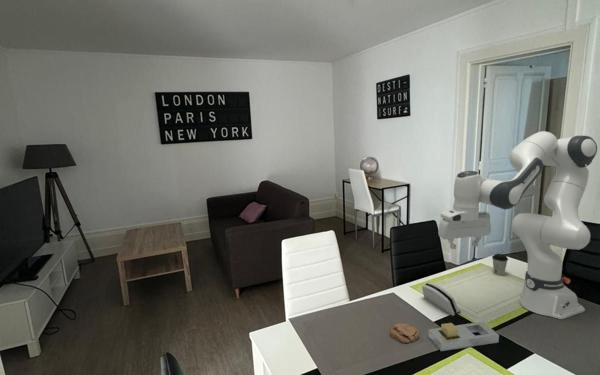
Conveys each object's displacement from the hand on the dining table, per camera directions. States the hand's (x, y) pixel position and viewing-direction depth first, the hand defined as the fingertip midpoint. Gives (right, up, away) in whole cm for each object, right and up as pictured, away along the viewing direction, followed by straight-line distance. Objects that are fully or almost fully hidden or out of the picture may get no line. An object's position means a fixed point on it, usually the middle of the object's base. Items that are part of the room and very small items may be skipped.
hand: (463, 247), depth 124 cm
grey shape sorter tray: (-5, -32, -10) cm, 33 cm away
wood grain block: (-11, -32, -10) cm, 35 cm away
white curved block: (-4, -28, +13) cm, 31 cm away
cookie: (-25, -32, -5) cm, 41 cm away
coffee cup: (+38, -21, +38) cm, 58 cm away
